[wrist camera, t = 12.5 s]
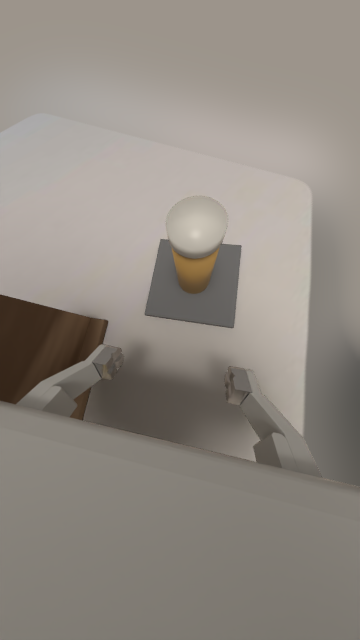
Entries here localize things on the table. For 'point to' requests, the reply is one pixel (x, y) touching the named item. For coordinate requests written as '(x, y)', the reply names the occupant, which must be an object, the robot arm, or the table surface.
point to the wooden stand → (42, 346)
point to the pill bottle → (196, 239)
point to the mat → (201, 307)
